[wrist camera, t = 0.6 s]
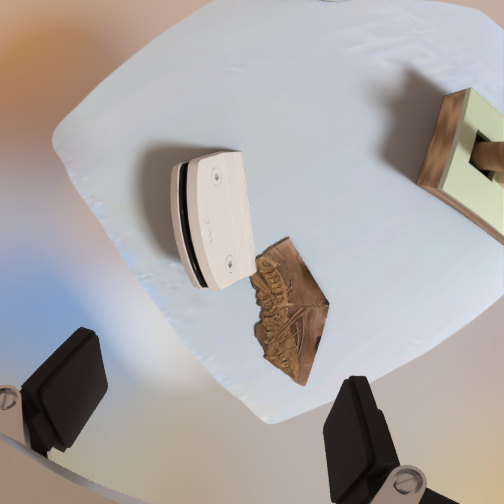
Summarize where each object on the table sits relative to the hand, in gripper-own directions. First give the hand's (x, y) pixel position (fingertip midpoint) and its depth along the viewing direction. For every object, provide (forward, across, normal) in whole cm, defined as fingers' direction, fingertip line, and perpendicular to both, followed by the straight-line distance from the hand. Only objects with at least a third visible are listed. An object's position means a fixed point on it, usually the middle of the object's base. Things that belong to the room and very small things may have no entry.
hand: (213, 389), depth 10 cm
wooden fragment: (+30, -7, +14) cm, 34 cm away
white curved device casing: (+30, +5, 0) cm, 30 cm away
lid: (+24, -33, -14) cm, 43 cm away
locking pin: (+29, -27, -15) cm, 43 cm away
